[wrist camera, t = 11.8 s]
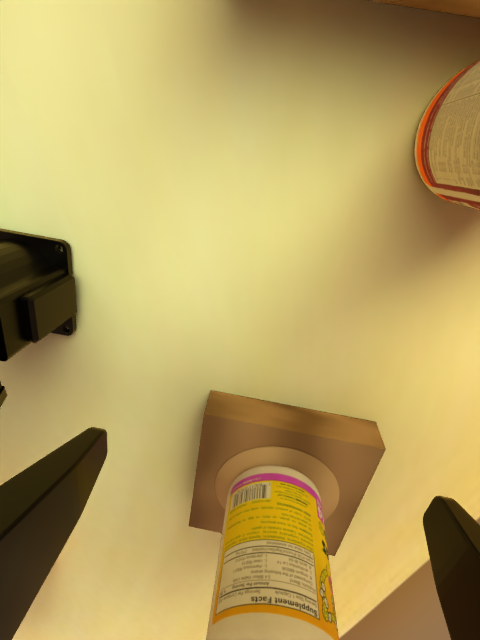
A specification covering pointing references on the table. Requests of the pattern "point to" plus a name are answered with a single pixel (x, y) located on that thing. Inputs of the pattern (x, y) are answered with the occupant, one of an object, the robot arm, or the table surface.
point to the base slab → (284, 456)
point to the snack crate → (442, 5)
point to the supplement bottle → (273, 561)
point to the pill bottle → (452, 140)
